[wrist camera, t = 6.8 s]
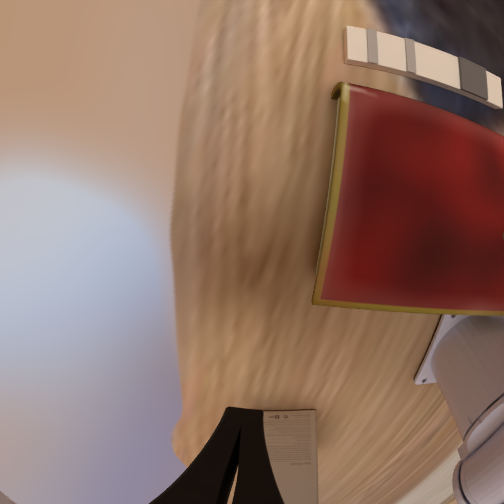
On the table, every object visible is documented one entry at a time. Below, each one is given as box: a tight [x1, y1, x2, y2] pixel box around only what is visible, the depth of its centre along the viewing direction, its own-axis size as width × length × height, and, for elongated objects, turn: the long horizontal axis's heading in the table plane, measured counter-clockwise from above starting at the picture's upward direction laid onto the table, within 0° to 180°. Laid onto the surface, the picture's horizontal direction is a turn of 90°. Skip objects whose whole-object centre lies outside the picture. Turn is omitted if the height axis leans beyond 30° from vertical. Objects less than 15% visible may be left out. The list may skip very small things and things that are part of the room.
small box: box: [263, 410, 318, 504], centre depth 19 cm, size 8×6×13 cm
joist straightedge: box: [344, 26, 502, 109], centre depth 12 cm, size 12×2×1 cm, turn 88°
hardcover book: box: [312, 82, 504, 316], centre depth 14 cm, size 12×21×4 cm, turn 85°
